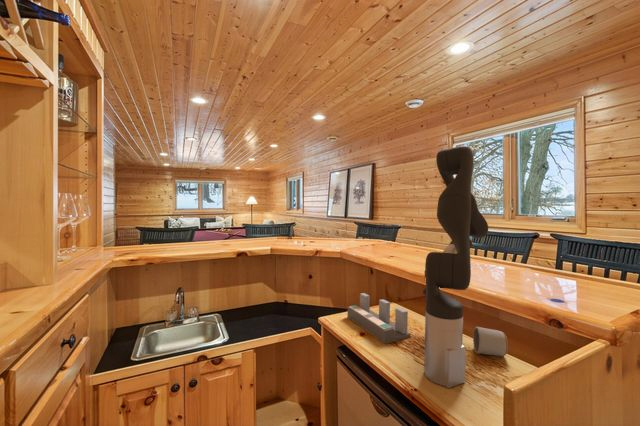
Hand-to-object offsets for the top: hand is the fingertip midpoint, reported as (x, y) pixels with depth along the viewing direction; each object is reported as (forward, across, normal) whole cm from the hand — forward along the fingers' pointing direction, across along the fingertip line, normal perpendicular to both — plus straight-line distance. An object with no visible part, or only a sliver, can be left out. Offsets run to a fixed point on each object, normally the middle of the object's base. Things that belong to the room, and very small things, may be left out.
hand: (425, 295), depth 106 cm
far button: (+18, -19, -2) cm, 26 cm away
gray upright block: (+16, -9, 0) cm, 18 cm away
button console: (+19, -10, -1) cm, 22 cm away
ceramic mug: (+5, +20, +14) cm, 24 cm away
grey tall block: (+16, 0, 0) cm, 16 cm away
